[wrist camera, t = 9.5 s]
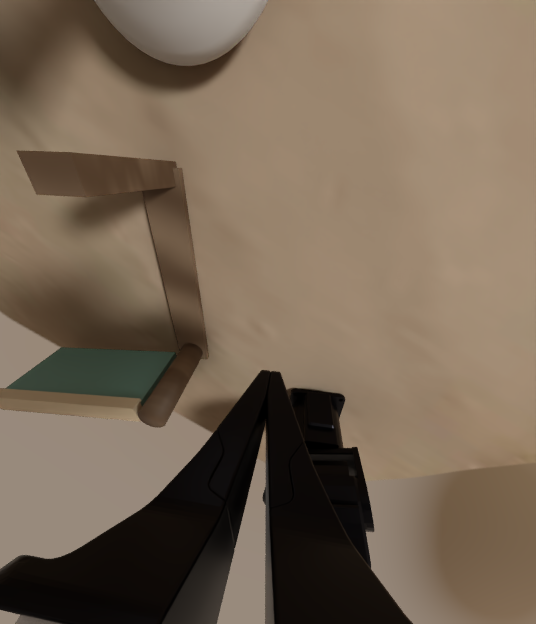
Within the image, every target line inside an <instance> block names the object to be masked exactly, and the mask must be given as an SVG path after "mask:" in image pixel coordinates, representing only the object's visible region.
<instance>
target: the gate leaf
mask: <svg viewBox="0 0 536 624" xmlns="http://www.w3.org/2000/svg"><path fill="white" fill-rule="evenodd" d="M176 356H177V355H176V353H175V352H159V351H135V350H112V349H88V348H64V347H61V348H60V349H59V350H57V351H56V352H55V353H53V354H52V355H51V356H49V357H48V358H46V359H45V360H44V361H42V362H41V363H40V364H38V365H37V366H35V367H34V368H33V369H31V370H30V371H28V372H27V373H26V374H24V375H23V376H22V377H20V378H19V379H17V380H16V381H15V382H13V383H12V384H11V385H9V386H8V387H7V388H5V389H4V388H0V408H1V409H3V410H15V411H26V412H37V413H49V414H60V415H71V416H82V417H93V418H105V419H117V420H127V421H139V422H140V421H141V420H140V419H139V417H138V412H139V411H140V409H141V408H142V406H143V405H144V404H145V402H146V401H147V399H148V398H149V396H150V395H151V393H152V392H153V390H154V389H155V387H156V386H157V384H158V383H159V381H160V380H161V378H162V377H163V375H164V374H165V372H166V371H167V370H168V368H169V367H170V365H171V364H172V362H173V361H174V359H175V358H176Z"/></svg>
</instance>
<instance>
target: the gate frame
mask: <svg viewBox="0 0 536 624" xmlns="http://www.w3.org/2000/svg"><path fill="white" fill-rule="evenodd" d="M17 153H18V155H19V157H20V159H21V161H22V164H23V166H24V168H25V170H26V172H27V175H28V177H29V179H30V181H31V183H32V186H33V188H34V190H35V192H36V194H37V195H55V196H75V197H91V196H100V195H109V194H118V193H126V192H135V191H142V192H143V196H144V201H145V205H146V209H147V214H148V218H149V222H150V226H151V231H152V235H153V239H154V244H155V248H156V252H157V256H158V261H159V265H160V269H161V274H162V278H163V282H164V286H165V291H166V295H167V299H168V303H169V308H170V312H171V316H172V321H173V325H174V329H175V333H176V338H177V342H178V346H179V351H180V352H179V353H178V355H177V356H176V358H175V359H174V361H173V362H172V364H171V365H170V367H169V368H168V370H167V371H166V372H165V374H164V375H163V377H162V378H161V380H160V381H159V383H158V384H157V386H156V387H155V389H154V390H153V392H152V393H151V395H150V396H149V398H148V399H147V401H146V402H145V404H144V405H143V406H142V408H141V409H140V411H139V412H138V417H139V419H140V420H141V421H142V422H143V423H145V424H147V425H149V426H152V427H163V426H165V424H166V422H167V420H168V419H169V417H170V415H171V413H172V411H173V409H174V408H175V406H176V404H177V402H178V400H179V398H180V396H181V395H182V393H183V391H184V389H185V387H186V385H187V383H188V381H189V380H190V378H191V376H192V374H193V372H194V370H195V368H196V367H197V365H198V363H199V361H200V359H208V357H209V353H208V346H207V339H206V332H205V325H204V318H203V312H202V305H201V298H200V291H199V284H198V277H197V270H196V263H195V256H194V249H193V242H192V235H191V228H190V221H189V215H188V208H187V201H186V194H185V187H184V180H183V173H182V168H177V167H176V162H173V161H162V160H151V159H140V158H128V157H117V156H106V155H94V154H83V153H72V152H44V151H17Z"/></svg>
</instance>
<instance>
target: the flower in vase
mask: <svg viewBox="0 0 536 624" xmlns="http://www.w3.org/2000/svg"><path fill="white" fill-rule="evenodd" d="M94 1H95V2H96V4H97V5H98V7H99V8H100V10H101V11H102V13H103V14H104V15H105V16H106V18H107V19H108V20H109V21H110V22H111V24H112V25H113V26H114V27H115V28H116V29H117V30H118V31H119V32H120V33H121V34H122V35H123V36H124V37H125V38H126V39H127V40H128V41H129V42H130V43H132V44H133V45H134V46H136V47H137V48H138V49H139V50H141V51H142V52H144V53H146V54H148V55H149V56H151V57H153V58H155V59H157V60H160V61H162V62H165V63H168V64H173V65H178V66H194V65H200V64H205V63H207V62H210V61H213V60H215V59H217V58H219V57H221V56H222V55H224V54H225V53H227V52H229V51H230V50H231V49H232V48H233V47H234V46H236V45H237V44H238V43H239V42H240V41H241V40H242V39H243V38H244V37H245V35H246V34H247V33H248V32H249V31H250V29H251V28H252V27H253V25H254V24H255V22H256V21H257V19H258V18H259V16H260V15H261V13H262V11H263V9H264V7H265V5H266V3H267V2H268V0H94Z"/></svg>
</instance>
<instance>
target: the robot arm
mask: <svg viewBox="0 0 536 624" xmlns="http://www.w3.org/2000/svg"><path fill="white" fill-rule="evenodd" d="M344 402H345V397H344V396H343V395H340V394H332V393H324V392H315V391H307V390H299V389H293V390H291V396H290V399H289V396H288V393H287V390H286V387H285V384H284V381H283V379H282V376H281V373H280V372H276V371H271V372H270V371H267V370H262V371H260V373H259V374H258V375H257V377H256V378H255V379H254V381H253V382H252V383H251V385H250V386H249V387H248V389H247V390H246V391H245V393H244V394H243V395H242V396H241V398H240V399H239V400H238V402H237V403H236V404H235V406H234V407H233V408H232V410H231V411H230V412H229V414H228V415H227V416H226V418H225V419H224V420H223V421H222V423H221V424H220V425H219V427H218V428H217V430H216V431H215V432H214V433H213V434H212V436H211V437H210V438H209V440H208V441H207V442H206V444H205V445H204V446H203V447H202V448H201V450H200V451H199V452H198V453H197V454H196V455H195V456H194V457H193V459H192V460H191V461H190V462H189V463H188V464H187V465H186V466H185V467H184V468H183V469H182V470H181V471H180V472H179V473H178V475H177V476H176V477H175V478H174V479H173V480H172V481H171V482H170V483H169V484H168V485H167V486H166V487H165V488H164V489H163V491H161V492H160V494H159V495H158V496H157V497H155V498H154V499H153V500H152V501H151V502H150V503H149V504H147V505H146V506H145V507H143V508H142V509H141V510H139V511H138V512H136V513H134V514H133V515H131V516H130V517H128V518H127V519H125V520H123V521H122V522H120V523H118V524H117V525H115V526H114V527H112V528H110V529H109V530H107V531H106V532H104V533H102V534H101V535H99V536H98V537H96V538H95V539H93V540H92V541H90V542H88V543H87V544H85V545H83V546H82V547H80V548H78V549H77V550H75V551H73V552H71V553H69V554H66V555H64V556H62V557H58V558H54V559H44V558H40V557H34V556H28V555H21V556H18V557H17V558H15V559H14V560H13V561H11V562H10V563H8V564H7V565H6V566H4V567H3V568H1V569H0V610H3V611H7V612H12V613H16V614H20V617H19V618H18V620H17V622H16V623H15V624H217V620H218V616H219V611H220V607H221V603H222V599H223V595H224V591H225V586H226V583H227V579H228V574H229V571H230V566H231V562H232V558H233V554H234V548H235V545H236V542H237V538H238V533H239V529H240V525H241V521H242V517H243V513H244V509H245V505H246V501H247V497H248V492H249V488H250V484H251V480H252V476H253V472H254V468H255V464H256V460H257V455H258V451H259V447H260V443H261V439H262V435H263V431H264V427H265V422H266V487H265V490H264V493H263V501H264V503H265V505H266V561H265V562H266V563H265V566H266V567H265V583H266V584H265V592H266V593H265V624H413V623H412V622H411V621H410V620H409V619H408V618H407V617H406V615H405V614H404V613H403V611H402V610H401V609H400V607H399V606H398V605H397V603H396V602H395V601H394V599H393V598H392V597H391V595H390V594H389V593H388V591H387V590H386V589H385V587H384V586H383V585H382V583H381V582H380V581H379V579H378V578H377V577H376V575H375V574H374V573H373V571H372V570H371V561H370V555H369V549H368V543H367V537H366V531H367V532H374V524H373V518H372V512H371V506H370V501H369V496H368V491H367V486H366V482H365V478H364V474H363V469H362V465H361V461H360V457H359V452H358V448H357V447H352V448H343V442H342V436H341V429H340V423H339V417H340V414H341V411H342V408H343V405H344Z"/></svg>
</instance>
